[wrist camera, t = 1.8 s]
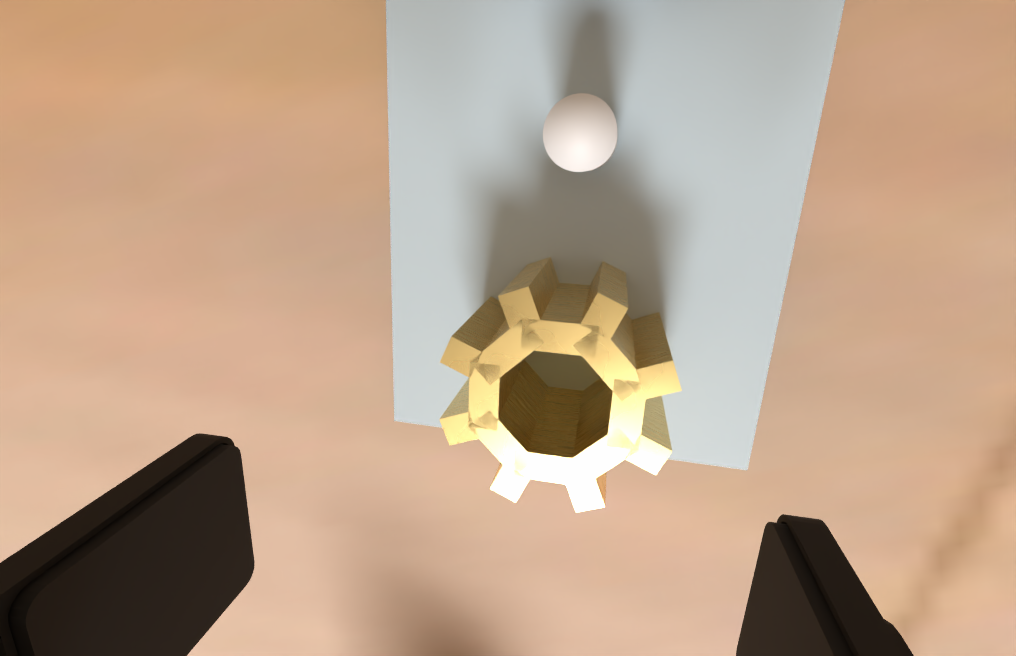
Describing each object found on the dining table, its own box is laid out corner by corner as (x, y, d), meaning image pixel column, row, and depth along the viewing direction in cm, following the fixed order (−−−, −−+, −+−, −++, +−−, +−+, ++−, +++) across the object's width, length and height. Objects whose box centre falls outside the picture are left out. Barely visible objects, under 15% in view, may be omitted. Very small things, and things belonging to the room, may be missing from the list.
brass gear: (675, 266, 18) (696, 301, 14) (650, 442, 20) (660, 525, 16) (483, 251, 19) (440, 278, 15) (477, 419, 21) (438, 490, 17)
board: (909, -437, 14) (1137, -909, 8) (736, 444, 22) (782, 552, 16) (404, -369, 16) (277, -689, 10) (411, 400, 24) (342, 480, 18)
